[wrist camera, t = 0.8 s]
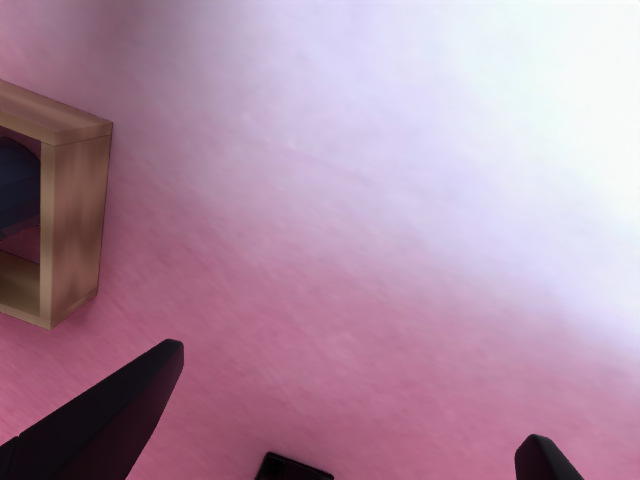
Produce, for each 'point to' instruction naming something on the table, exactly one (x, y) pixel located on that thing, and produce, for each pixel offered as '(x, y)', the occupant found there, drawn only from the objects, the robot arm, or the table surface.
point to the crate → (58, 208)
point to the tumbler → (18, 189)
